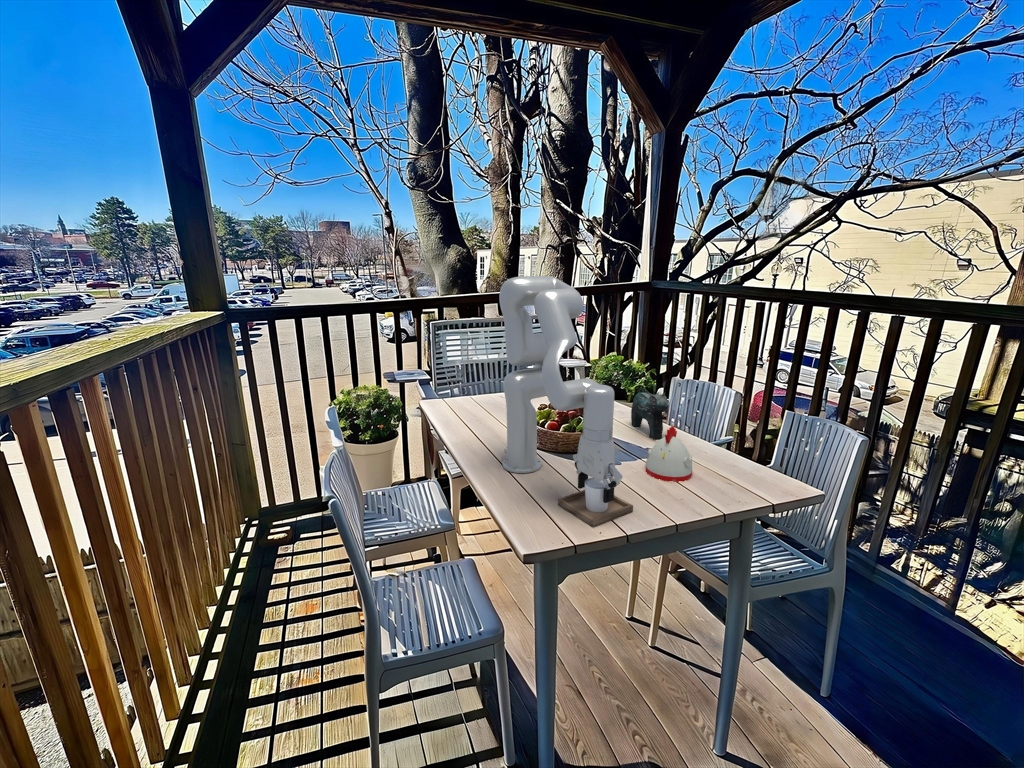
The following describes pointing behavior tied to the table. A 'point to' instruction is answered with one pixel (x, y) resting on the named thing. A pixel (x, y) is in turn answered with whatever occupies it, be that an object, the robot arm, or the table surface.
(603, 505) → the shot glass
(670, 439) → the kitchen timer
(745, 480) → the table surface
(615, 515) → the walnut tray
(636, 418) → the dark green animal figurine
